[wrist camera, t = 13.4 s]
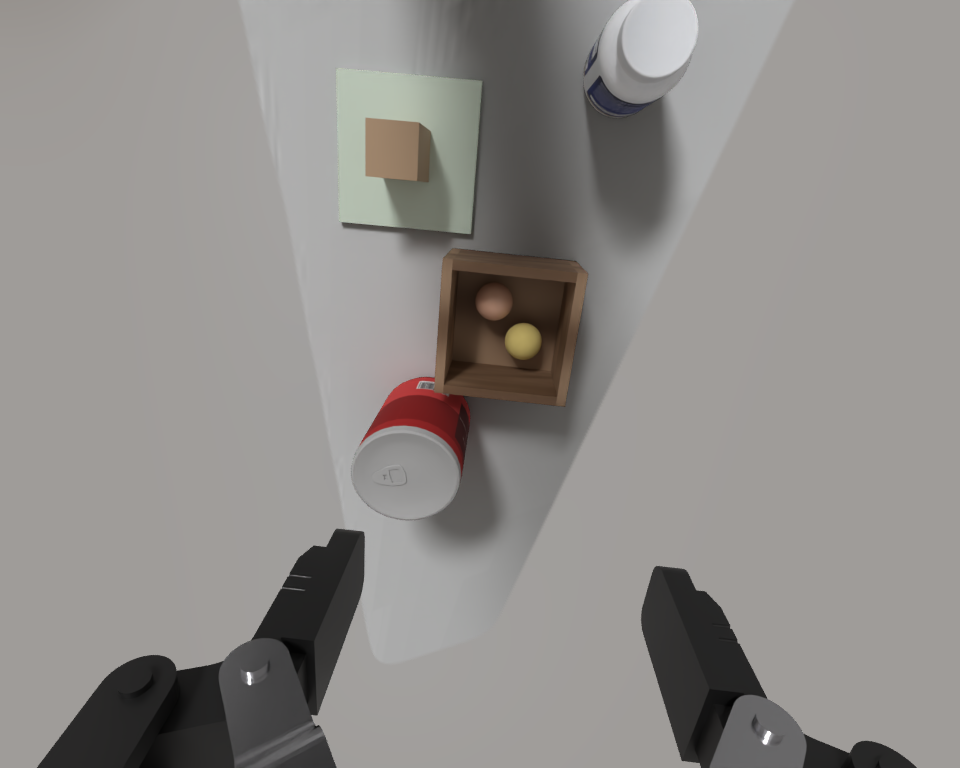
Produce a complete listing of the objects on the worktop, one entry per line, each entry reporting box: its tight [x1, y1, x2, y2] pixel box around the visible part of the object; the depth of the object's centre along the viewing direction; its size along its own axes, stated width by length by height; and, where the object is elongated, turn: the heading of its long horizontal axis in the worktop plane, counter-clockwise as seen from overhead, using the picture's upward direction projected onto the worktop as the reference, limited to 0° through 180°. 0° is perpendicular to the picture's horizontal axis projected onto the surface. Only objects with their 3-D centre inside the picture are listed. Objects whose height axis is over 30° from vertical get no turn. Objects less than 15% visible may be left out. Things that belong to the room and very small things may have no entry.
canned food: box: [351, 377, 470, 520], centre depth 40 cm, size 8×8×11 cm
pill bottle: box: [583, 0, 699, 118], centre depth 30 cm, size 5×5×10 cm
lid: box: [336, 68, 483, 234], centre depth 35 cm, size 10×10×6 cm
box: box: [434, 248, 588, 407], centre depth 38 cm, size 10×10×6 cm
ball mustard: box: [505, 323, 542, 360], centre depth 40 cm, size 3×3×3 cm
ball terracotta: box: [475, 282, 513, 321], centre depth 39 cm, size 3×3×3 cm
